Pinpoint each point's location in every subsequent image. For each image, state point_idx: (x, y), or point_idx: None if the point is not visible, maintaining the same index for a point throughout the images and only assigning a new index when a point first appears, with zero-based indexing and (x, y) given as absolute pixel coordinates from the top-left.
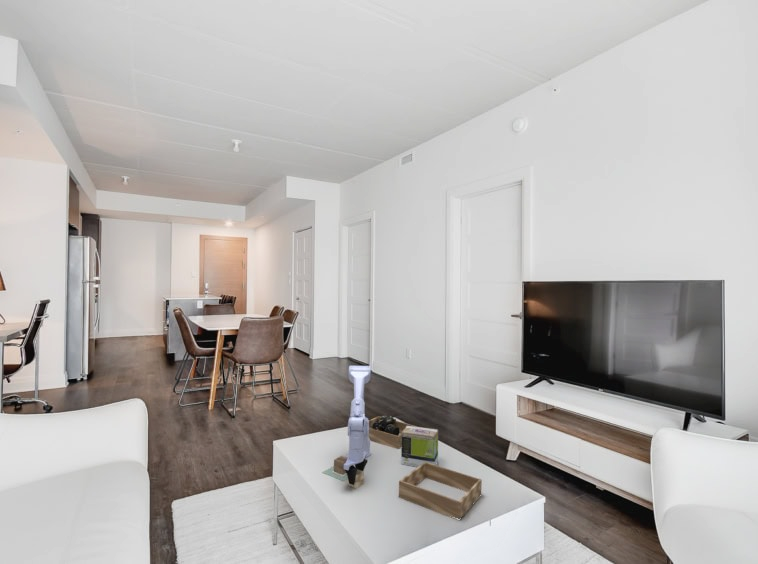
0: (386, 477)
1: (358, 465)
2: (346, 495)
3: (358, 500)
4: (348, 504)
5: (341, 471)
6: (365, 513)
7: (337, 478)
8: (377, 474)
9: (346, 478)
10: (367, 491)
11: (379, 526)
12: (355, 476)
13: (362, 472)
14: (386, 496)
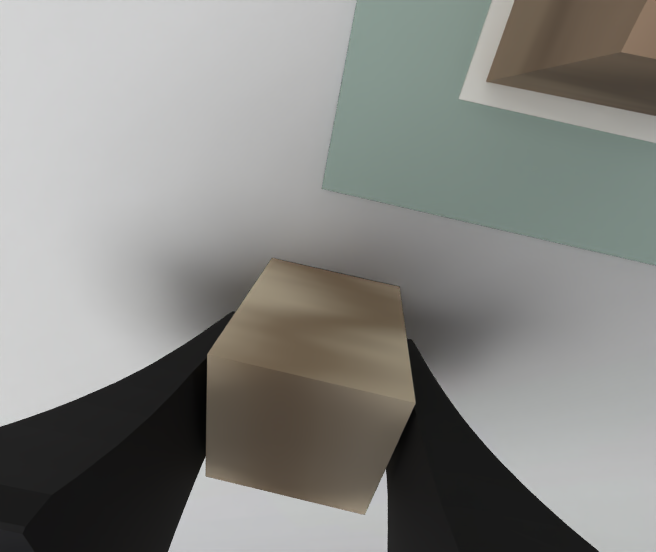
0: (559, 499)
1: (410, 531)
2: (117, 322)
3: None
4: (42, 375)
5: (520, 32)
6: None
7: (348, 52)
8: (613, 438)
9: (402, 187)
10: None
11: None
12: (205, 454)
13: (342, 502)
14: (281, 523)
